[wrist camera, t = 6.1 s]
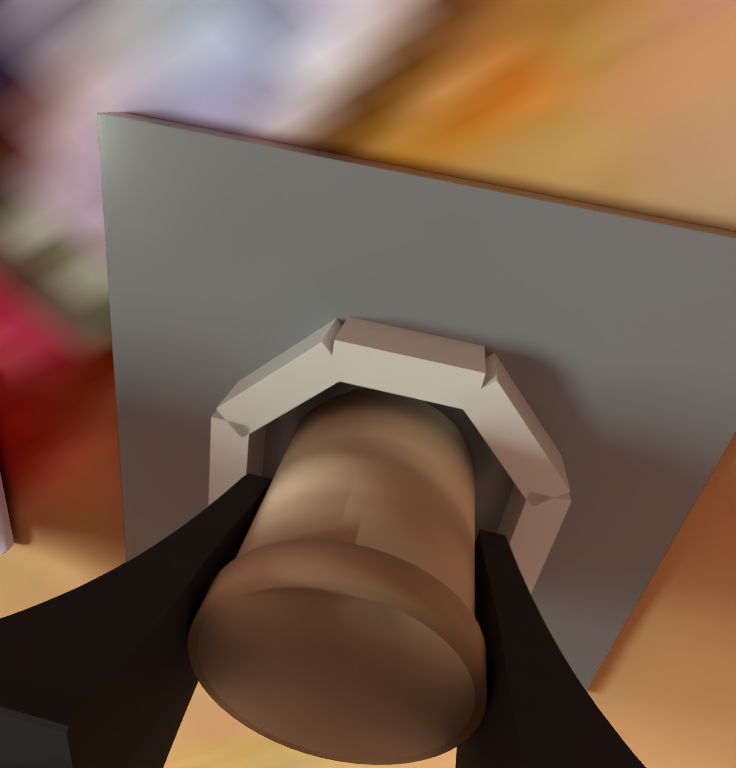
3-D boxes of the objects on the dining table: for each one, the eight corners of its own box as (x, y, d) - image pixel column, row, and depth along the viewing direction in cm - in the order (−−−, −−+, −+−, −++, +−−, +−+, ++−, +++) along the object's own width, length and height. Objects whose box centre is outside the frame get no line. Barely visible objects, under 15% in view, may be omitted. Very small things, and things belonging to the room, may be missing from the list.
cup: (280, 521, 17) (195, 727, 12) (285, 365, 14) (176, 547, 9) (460, 557, 16) (454, 789, 11) (503, 404, 13) (521, 619, 8)
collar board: (143, 577, 21) (104, 633, 19) (122, 111, 13) (53, 114, 11) (567, 687, 20) (579, 761, 18) (809, 246, 12) (883, 279, 10)
